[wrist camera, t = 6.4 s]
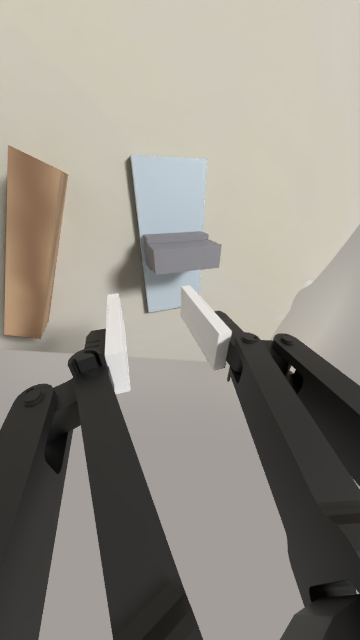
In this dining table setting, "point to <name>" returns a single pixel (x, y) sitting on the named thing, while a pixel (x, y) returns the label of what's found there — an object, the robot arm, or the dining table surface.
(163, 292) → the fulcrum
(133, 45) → the dining table surface
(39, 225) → the bar
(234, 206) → the dining table surface
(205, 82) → the dining table surface
